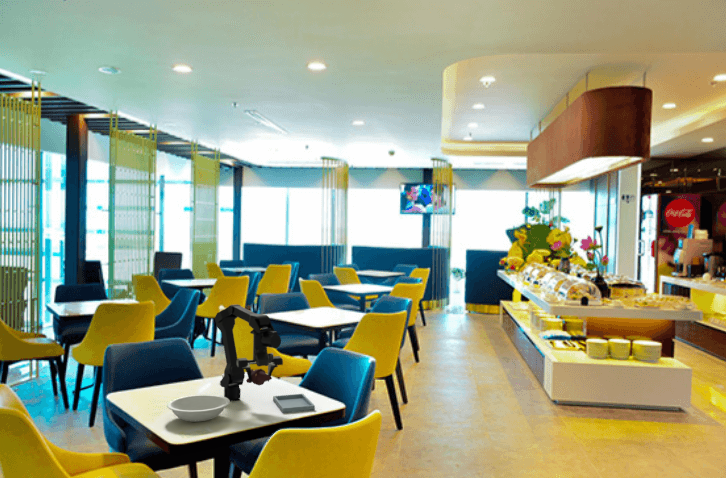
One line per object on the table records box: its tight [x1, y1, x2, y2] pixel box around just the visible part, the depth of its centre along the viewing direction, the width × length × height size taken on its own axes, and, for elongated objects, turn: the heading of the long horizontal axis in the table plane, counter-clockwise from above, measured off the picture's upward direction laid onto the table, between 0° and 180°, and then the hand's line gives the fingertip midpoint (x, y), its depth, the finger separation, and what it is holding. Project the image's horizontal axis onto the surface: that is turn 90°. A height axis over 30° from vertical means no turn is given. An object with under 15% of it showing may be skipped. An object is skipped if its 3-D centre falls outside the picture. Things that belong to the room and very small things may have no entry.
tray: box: [272, 393, 316, 414], centre depth 247 cm, size 14×20×2 cm
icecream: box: [246, 368, 273, 386], centre depth 242 cm, size 7×7×15 cm
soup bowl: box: [166, 394, 231, 423], centre depth 226 cm, size 24×24×7 cm
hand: (259, 382), depth 241 cm, fingers closed on icecream, 7 cm apart
